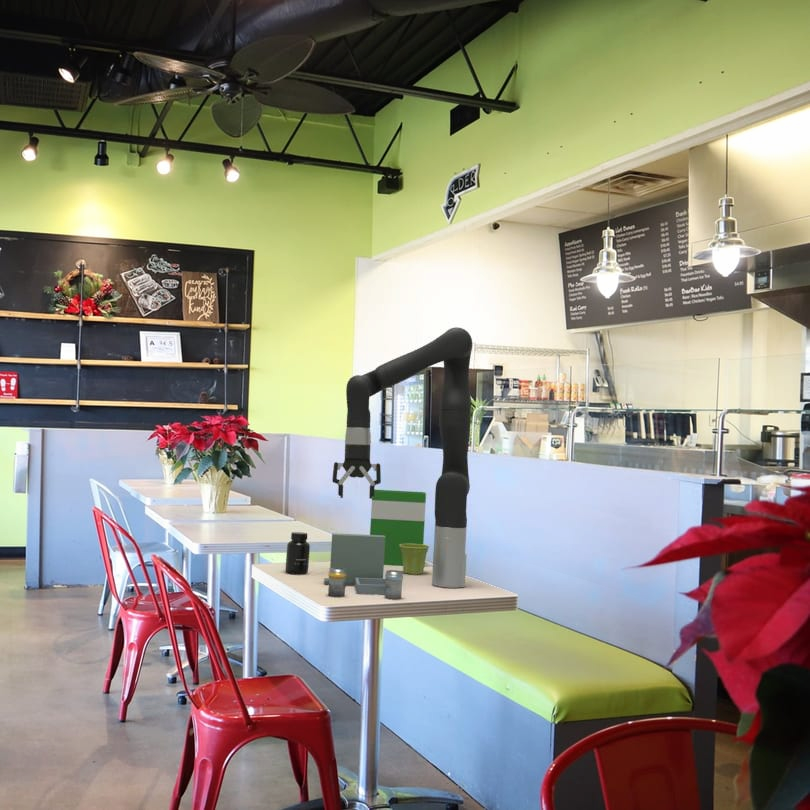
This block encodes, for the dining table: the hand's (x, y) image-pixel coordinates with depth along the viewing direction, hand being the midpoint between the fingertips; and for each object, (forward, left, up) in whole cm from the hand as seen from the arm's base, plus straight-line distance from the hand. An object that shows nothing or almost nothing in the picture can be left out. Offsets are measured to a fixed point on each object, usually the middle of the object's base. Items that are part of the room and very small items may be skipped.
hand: (356, 498), depth 271 cm
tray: (-6, +18, -24) cm, 31 cm away
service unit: (-1, +9, -24) cm, 25 cm away
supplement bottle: (+16, -7, -24) cm, 30 cm away
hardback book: (-16, -33, -24) cm, 44 cm away
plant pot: (-20, -15, -24) cm, 34 cm away
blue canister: (-10, +28, -24) cm, 38 cm away
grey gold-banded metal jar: (+5, +27, -24) cm, 37 cm away
